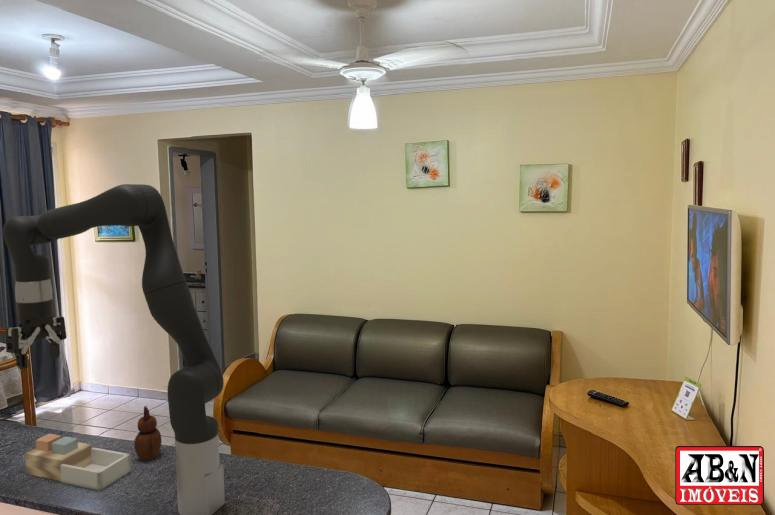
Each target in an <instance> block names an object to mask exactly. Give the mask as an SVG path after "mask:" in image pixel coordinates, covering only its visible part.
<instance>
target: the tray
mask: <svg viewBox="0 0 775 515" xmlns="http://www.w3.org/2000/svg"><path fill="white" fill-rule="evenodd" d="M91 459H92V463H91V464H90V465H88V466H86V467H84V468H82V467H77V466H72V465H66V464H62V465H60V469H61V481H60V482H61V483H62V484H66V485H71V486H76V487H80V488H85V489H89V490H93V491H98V492H101V491H103V490H104V489H106V488H107V487H108V486H110V485H112V484H113V483H115V482H116V481H117V480H120V479H121V478H122V476H123V477H124V476H125V475H128V474H129V473H130V472H132V458H131V454H130V453H125V452H120V451H115V450H110V449H105V448H98V447H92V448H91Z"/></svg>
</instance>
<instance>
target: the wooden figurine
mask: <svg viewBox="0 0 775 515" xmlns="http://www.w3.org/2000/svg"><path fill="white" fill-rule="evenodd" d="M157 422H158V421H157V418H156V416H154V415H151V414H150V409H149V408H148V407H147V405H145V406H143V416H142V417H140V418H139V419H138V421H137V430H138V433H137V434H136V436H135V438H134V450H135V453H136V455H137V456H138V458H139V459H140V460H142V461H149V460H150V461H151V460H152V459H155V458H156V457H157V456H158V455H159V453H160V450H161V448H162V434H161V432H160V430H159V429H158V428H157V425H158V424H157Z"/></svg>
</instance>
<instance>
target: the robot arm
mask: <svg viewBox="0 0 775 515" xmlns="http://www.w3.org/2000/svg"><path fill="white" fill-rule="evenodd" d="M167 213H168V212H167V209H166V206H165V202H164V200H163V197H162V195H161V194H160V192H159V191H158V190H157V189H156V188H155V187H154V186H152V185H149V184H144V183H143V184H140V183H139V184H131V183H125V184H124V183H123V184H120V185H116V186H113V187H111V188H110V189H108V190H107V189H106V190H105V191H103V192H101V193H99V194H98V195H95V196H92V197H91V198H89V199H85V200H84V201H80V202H77V203H76V202H75V203H72V204H68V205H63V206H59V207H56V208H51V209H49V210H46V211H44V212H42V213H41V214H40V215H39V214H37V215H22V216H21V215H19V216H12V217H10V218H8V219H7V220H6V221H5V222H4V225H3V228H2V235H3V239H4V242H5V245H6V247H7V250H8V252H9V254H10V257H11V259H12V262H13V265H14V277H15V286H14V287H15V288H14V292H15V293H14V294H15V305H16V316H17V317H16V318H17V320H18V321H19V322H18V323H19V324H18V326H16V327H10V326H8V327H6V328H5V348H6V349H5V352H6V353H7V354H9V353H10V354H14V355H15V363H16V365H15V366H16V367H17V368H18V369H20V370H26V369H28V368H29V364H28V354H27V353H26V352H27V351H28V349H29V348H30V346H32V345H33V343H34V342H37V341H39V340H41V339H46V340H47V341H48V342H49V344H48V351H49V352H48V353H49V358H50V359H51V360H58V359H59V358H60V354H61V352H60V351H61V350H60V343H61V342H62V341H64V340H66V339H67V331H66V329H67V328H66V320H65V317H64V316H60V315H59V316H58V315H55V316H54V298H53V287H52V281H51V275H50V274H51V272H50V261H49V258H48V257H47V256H46V255H43V254H42V255H41V254H36V253H35V252H34V251H33V249H32V246H36V245H44V244H50V243H53V242H55V241H57V240H59V239H65V238H70V237H74V236H77V235H80V234H83V233H86V232H87V231H89V230H92V229H93V228H94V229H95V228H96V227H105V226H106V227H108V226H109V227H113V226H114V227H115V226H119V227H120V226H121V227H128V228H129V227H138V229H139V232H140V234H141V237H142V240H143V245H144V249H145V258H144V264H143V270H142V277H141V288H142V293H143V296H144V299H145V301H146V304H147V307H148V310H149V312H150V315H151V316H152V318H153V320H155V322H156V323H157V324H158V325H159V326H160V328H162V329H163V331H165V332H166V333H167V334H168V335H169V336H170V337H171V338H172V339H173V340H174V342H175V343H176V345H177V346H178V347H179V350H180V353H181V354H182V356H183V357H182V358H183V360H184V363H185V366H184V367H183V368H181V369H178V370H177V371H175V372H174V373H172V375H171V376H170V378H169V379H168V383H167V402H168V413H169V414H168V415H169V422H170V426H171V429H172V430H173V432H174V445H175V446H174V447H175V448H174V449H175V451H174V452H175V469H176V470H175V475H176V489H177V490H176V491H177V492H176V494H177V510H178V514H179V515H213V514H215V513H216V512H217V511H218V510H219V509H220V508H221V507H222V506H224V504H225V477H224V476H225V475H224V464H222V463H220V441H219V439H220V438H219V423H218V420H217V419H216V418H215V417H214V416H210V415H207V412H206V411H207V410H206V404H207V403H209V402H211V401H212V400H214V399H216V398H217V397H218V396H220V395H221V393H222V392H223V388H224V384H225V383H224V382H225V381H224V374H223V372H222V370H221V367H220V365H219V363H218V360H217V359H216V356H215V354H214V351H213V350H212V347H211V345H210V344H209V341H208V338H207V336H206V333H205V332H204V329H203V326H202V323H201V321H200V317H199V314H198V312H197V309H196V306H195V303H194V300H193V297H192V294H191V293H192V292H191V291H190V288H189V284H188V282H187V279H186V277H185V274H184V271H183V269H182V265H181V262H180V260H179V255H178V252H177V249H176V246H175V244H174V239H173V236H172V232H171V227H170V222H169V218H168V214H167ZM52 327H53V328H52Z"/></svg>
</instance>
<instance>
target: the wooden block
mask: <svg viewBox="0 0 775 515" xmlns="http://www.w3.org/2000/svg"><path fill="white" fill-rule="evenodd" d="M91 448H93V447H92V444H90V443H83V442H80V441H78V448H77V449H75V450H73V451H71V452H69V453H67V454H66V455H63V454H58V453H53V451H52V450H50V451H48V452H47V451H42V450H37V449H36V447H35V448H34V449H31V450H28V451H27V452H25V453H24V454H25V455H24V456H25V459H24V461H25V471H26V475H31V476H35V477H40V478H43V477H44V479H49V480H54V481H57V482H58V481H59V482H61V469H60V465H62V464H66V465H72V466H77V467H82V468H84V467H86V466H88V465H90V464H91V463H92V459H91Z"/></svg>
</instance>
